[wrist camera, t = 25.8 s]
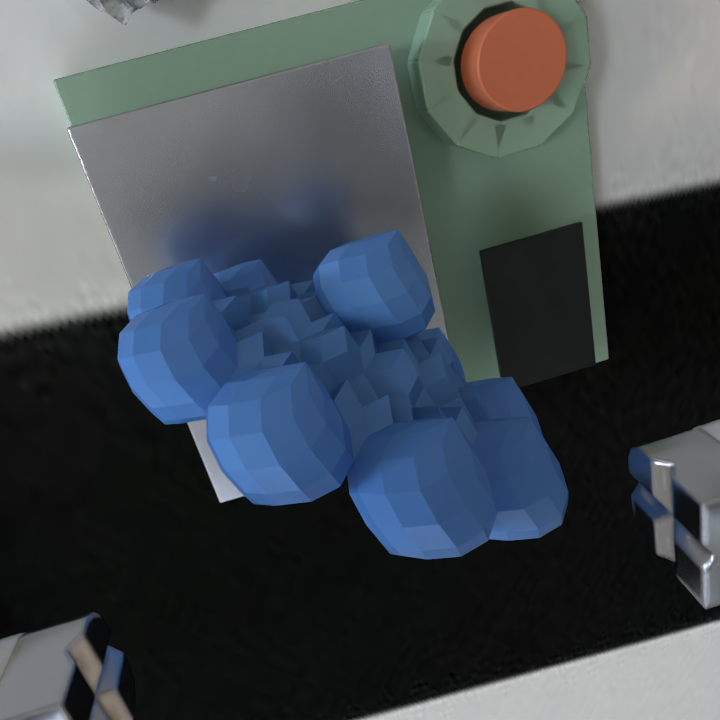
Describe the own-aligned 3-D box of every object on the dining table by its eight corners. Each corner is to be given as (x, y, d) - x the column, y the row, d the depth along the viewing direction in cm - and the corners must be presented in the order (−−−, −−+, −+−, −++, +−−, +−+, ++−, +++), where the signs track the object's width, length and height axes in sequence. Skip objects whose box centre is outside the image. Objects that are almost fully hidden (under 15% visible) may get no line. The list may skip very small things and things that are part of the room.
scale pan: (557, -3, 21) (575, -7, 20) (594, 373, 27) (609, 385, 26) (74, 126, 20) (65, 127, 19) (220, 487, 26) (219, 504, 25)
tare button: (538, 3, 21) (562, -4, 20) (549, 98, 23) (572, 98, 21) (452, 26, 21) (470, 20, 20) (467, 120, 22) (485, 122, 21)
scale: (554, -48, 23) (597, -66, 21) (593, 347, 30) (629, 373, 27) (62, 80, 22) (37, 78, 19) (215, 462, 29) (212, 500, 26)
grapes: (511, 251, 23) (760, 395, 12) (437, 415, 25) (593, 668, 14) (181, 130, 20) (109, 176, 9) (128, 331, 22) (13, 575, 11)
